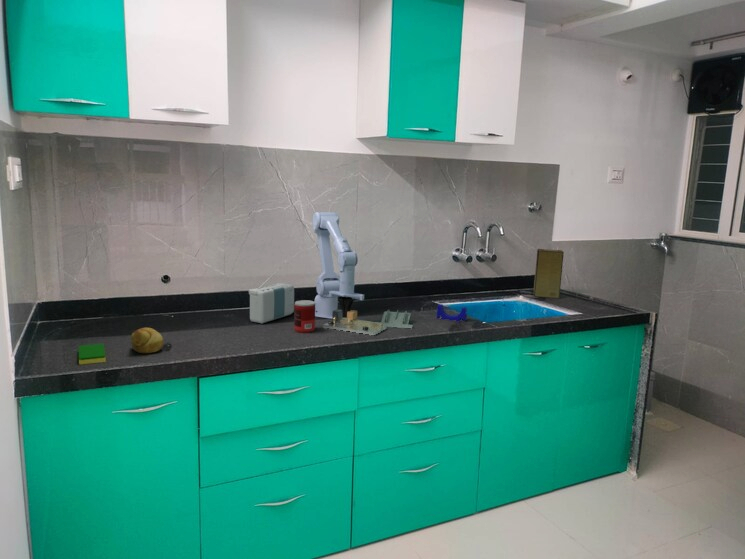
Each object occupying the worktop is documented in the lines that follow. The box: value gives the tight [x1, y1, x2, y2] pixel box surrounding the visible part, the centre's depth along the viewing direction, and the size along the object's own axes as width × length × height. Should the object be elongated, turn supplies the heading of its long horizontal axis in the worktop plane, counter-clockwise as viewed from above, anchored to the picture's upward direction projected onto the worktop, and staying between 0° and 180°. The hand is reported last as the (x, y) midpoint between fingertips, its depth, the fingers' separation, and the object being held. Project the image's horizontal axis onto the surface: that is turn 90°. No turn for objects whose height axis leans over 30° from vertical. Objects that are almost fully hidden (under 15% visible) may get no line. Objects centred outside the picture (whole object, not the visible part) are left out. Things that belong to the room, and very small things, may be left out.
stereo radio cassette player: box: [248, 267, 295, 325], centre depth 226 cm, size 21×8×20 cm, turn 152°
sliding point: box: [346, 309, 358, 324], centre depth 220 cm, size 2×5×4 cm, turn 156°
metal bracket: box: [376, 309, 413, 330], centre depth 227 cm, size 14×6×15 cm
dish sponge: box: [78, 343, 107, 365], centre depth 172 cm, size 7×14×2 cm, turn 28°
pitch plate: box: [322, 308, 388, 336], centre depth 217 cm, size 22×12×6 cm, turn 66°
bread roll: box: [130, 327, 165, 354], centre depth 181 cm, size 13×10×8 cm
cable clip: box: [436, 303, 468, 322], centre depth 238 cm, size 12×4×6 cm, turn 69°
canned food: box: [293, 299, 316, 334], centre depth 211 cm, size 8×8×11 cm
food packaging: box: [532, 248, 564, 300], centre depth 297 cm, size 13×9×25 cm
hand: (345, 315), depth 221 cm, fingers closed
